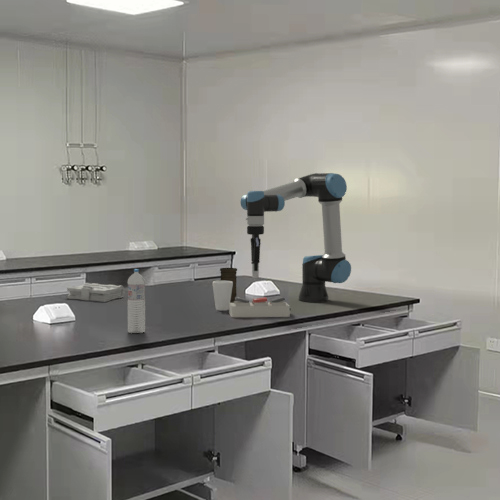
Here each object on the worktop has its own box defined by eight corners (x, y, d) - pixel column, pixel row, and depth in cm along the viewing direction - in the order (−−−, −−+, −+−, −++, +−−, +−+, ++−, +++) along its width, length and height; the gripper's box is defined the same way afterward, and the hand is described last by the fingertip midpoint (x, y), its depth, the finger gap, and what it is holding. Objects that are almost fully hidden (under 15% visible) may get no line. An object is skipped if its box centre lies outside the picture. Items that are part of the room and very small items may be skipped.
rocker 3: (283, 298, 344) (282, 296, 343) (285, 300, 340) (284, 297, 340) (270, 302, 343) (270, 299, 343) (272, 303, 339) (271, 301, 339)
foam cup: (235, 308, 361) (235, 281, 359) (228, 311, 352) (228, 283, 351) (216, 307, 364) (216, 280, 362) (209, 310, 355) (209, 282, 354)
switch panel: (288, 312, 350) (288, 299, 349) (292, 316, 340) (292, 302, 339) (229, 313, 346) (229, 299, 346) (231, 317, 336) (231, 303, 335)
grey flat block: (81, 293, 404) (81, 279, 403) (125, 297, 393) (125, 283, 392) (58, 299, 387) (57, 284, 386) (103, 303, 375) (103, 288, 374)
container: (235, 307, 365) (235, 269, 363) (217, 306, 367) (217, 269, 365) (239, 304, 374) (239, 267, 372) (221, 303, 375) (221, 267, 374)
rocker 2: (266, 299, 343) (265, 296, 342) (267, 301, 339) (267, 298, 339) (252, 301, 342) (252, 298, 342) (254, 303, 338) (253, 300, 338)
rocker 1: (247, 302, 342) (248, 299, 342) (248, 303, 338) (249, 301, 338) (234, 299, 341) (235, 296, 341) (235, 300, 337) (236, 297, 337)
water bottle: (128, 330, 303) (128, 268, 301) (145, 330, 304) (145, 268, 302) (127, 334, 297) (126, 270, 294) (144, 334, 297) (144, 270, 295)
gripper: (245, 224, 346) (245, 276, 348) (249, 226, 333) (249, 279, 335) (261, 224, 347) (261, 275, 349) (266, 226, 334) (266, 279, 336)
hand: (255, 277), depth 342 cm, fingers closed
